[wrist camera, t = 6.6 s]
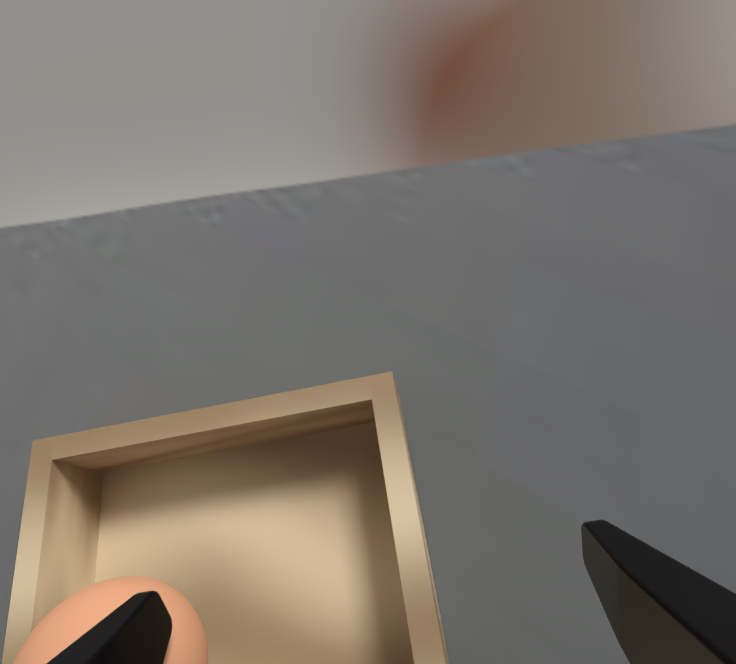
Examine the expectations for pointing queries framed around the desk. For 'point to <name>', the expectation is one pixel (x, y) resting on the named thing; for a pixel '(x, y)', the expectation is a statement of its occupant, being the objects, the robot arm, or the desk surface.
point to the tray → (245, 526)
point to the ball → (97, 602)
